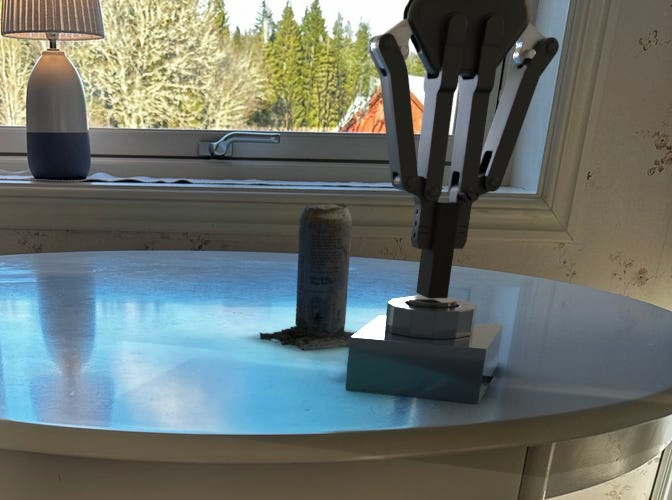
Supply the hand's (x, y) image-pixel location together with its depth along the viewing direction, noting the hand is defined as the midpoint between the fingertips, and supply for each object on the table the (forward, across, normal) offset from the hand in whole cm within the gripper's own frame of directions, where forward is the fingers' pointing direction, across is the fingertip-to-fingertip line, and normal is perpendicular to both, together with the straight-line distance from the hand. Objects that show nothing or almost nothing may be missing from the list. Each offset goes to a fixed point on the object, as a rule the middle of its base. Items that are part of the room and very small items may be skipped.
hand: (431, 295), depth 72 cm
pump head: (+2, 0, 0) cm, 2 cm away
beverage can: (+7, +5, -13) cm, 16 cm away
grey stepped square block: (+7, 0, 0) cm, 7 cm away
